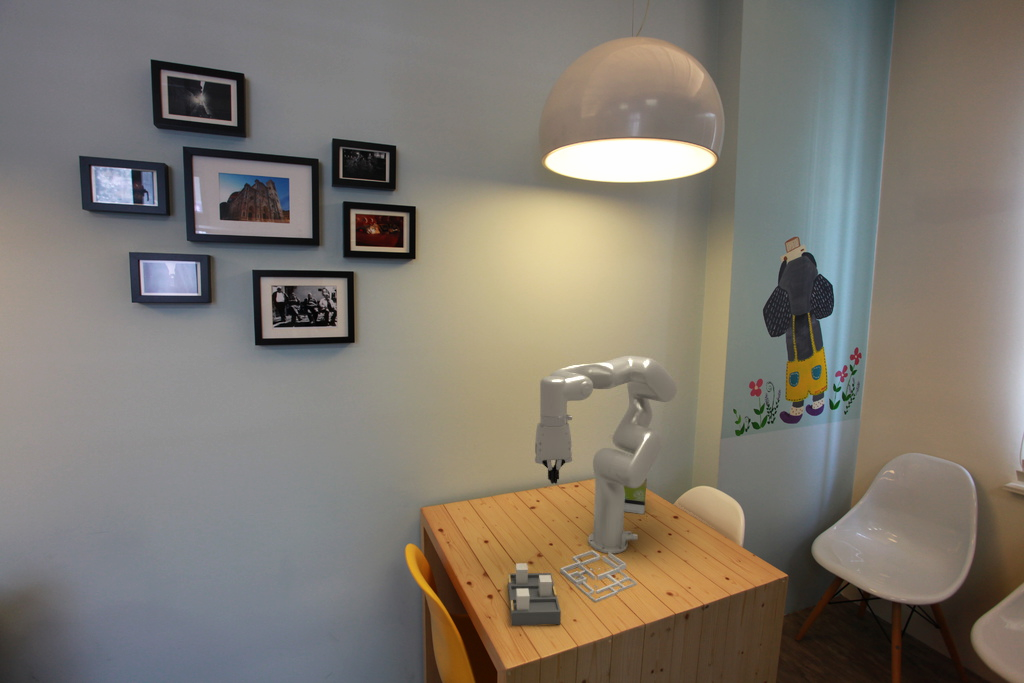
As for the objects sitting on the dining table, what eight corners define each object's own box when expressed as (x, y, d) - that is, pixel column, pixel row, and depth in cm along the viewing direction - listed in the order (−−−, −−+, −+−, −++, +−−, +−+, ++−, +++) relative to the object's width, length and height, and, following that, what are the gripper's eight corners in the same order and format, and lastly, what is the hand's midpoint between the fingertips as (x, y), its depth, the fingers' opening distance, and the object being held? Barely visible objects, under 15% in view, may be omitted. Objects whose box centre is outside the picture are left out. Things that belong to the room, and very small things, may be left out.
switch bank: (550, 584, 128) (551, 572, 128) (560, 624, 112) (560, 610, 112) (507, 584, 127) (508, 572, 127) (511, 625, 112) (511, 611, 111)
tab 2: (527, 603, 116) (528, 588, 115) (529, 611, 113) (529, 596, 112) (515, 603, 115) (516, 588, 115) (516, 611, 112) (517, 596, 112)
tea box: (604, 510, 175) (605, 472, 174) (604, 499, 185) (606, 463, 184) (644, 515, 172) (646, 476, 171) (643, 503, 182) (645, 467, 180)
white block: (549, 589, 121) (550, 575, 121) (551, 596, 118) (552, 581, 118) (538, 589, 121) (539, 575, 121) (539, 596, 118) (540, 582, 118)
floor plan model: (587, 543, 152) (587, 537, 152) (645, 583, 130) (645, 577, 130) (541, 558, 142) (541, 552, 142) (595, 604, 121) (595, 597, 121)
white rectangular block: (526, 577, 126) (526, 563, 126) (527, 583, 124) (527, 569, 123) (515, 577, 126) (515, 563, 126) (516, 584, 123) (516, 569, 123)
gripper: (576, 415, 135) (576, 475, 137) (525, 417, 133) (526, 477, 136) (582, 422, 127) (581, 486, 129) (529, 424, 126) (529, 488, 128)
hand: (553, 481), depth 132 cm, fingers closed
